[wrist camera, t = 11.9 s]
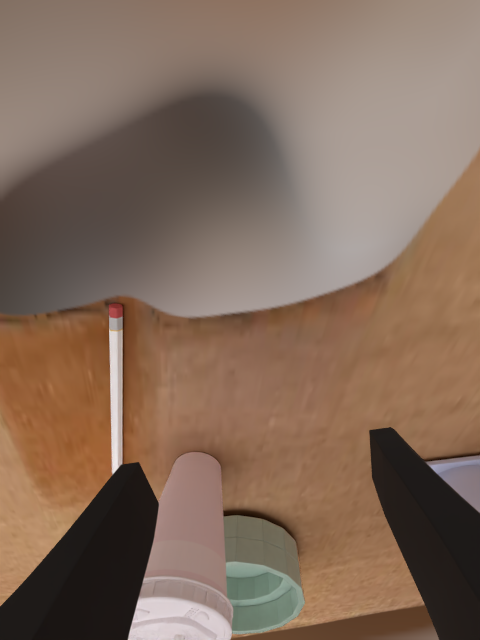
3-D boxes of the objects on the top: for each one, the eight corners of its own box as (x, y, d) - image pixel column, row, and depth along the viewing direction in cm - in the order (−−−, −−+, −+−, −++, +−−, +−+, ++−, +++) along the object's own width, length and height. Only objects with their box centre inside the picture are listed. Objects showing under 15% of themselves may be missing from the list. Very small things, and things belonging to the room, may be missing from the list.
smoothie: (232, 501, 26) (216, 808, 14) (154, 491, 26) (65, 796, 13) (244, 444, 24) (239, 763, 11) (157, 432, 23) (49, 746, 11)
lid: (288, 503, 26) (294, 556, 23) (303, 575, 31) (311, 629, 27) (164, 516, 27) (152, 569, 24) (196, 584, 32) (190, 637, 28)
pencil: (124, 304, 19) (120, 308, 19) (123, 505, 27) (120, 513, 26) (111, 302, 19) (106, 306, 18) (114, 504, 27) (111, 512, 26)
